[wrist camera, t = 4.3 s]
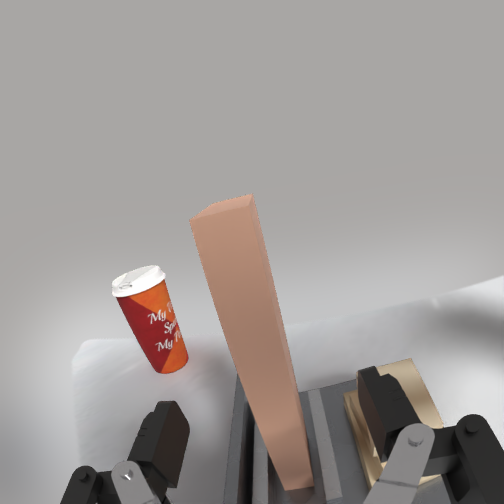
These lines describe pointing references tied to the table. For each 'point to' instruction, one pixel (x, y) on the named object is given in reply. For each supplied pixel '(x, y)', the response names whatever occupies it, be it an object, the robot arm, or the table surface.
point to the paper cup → (151, 317)
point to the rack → (321, 453)
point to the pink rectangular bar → (255, 330)
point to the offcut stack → (416, 396)
